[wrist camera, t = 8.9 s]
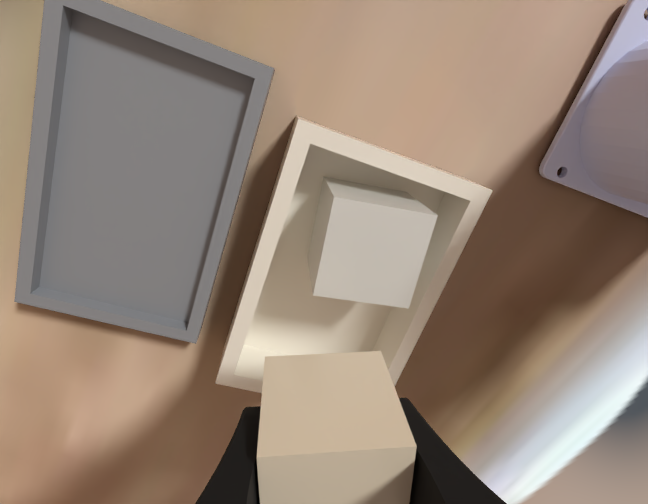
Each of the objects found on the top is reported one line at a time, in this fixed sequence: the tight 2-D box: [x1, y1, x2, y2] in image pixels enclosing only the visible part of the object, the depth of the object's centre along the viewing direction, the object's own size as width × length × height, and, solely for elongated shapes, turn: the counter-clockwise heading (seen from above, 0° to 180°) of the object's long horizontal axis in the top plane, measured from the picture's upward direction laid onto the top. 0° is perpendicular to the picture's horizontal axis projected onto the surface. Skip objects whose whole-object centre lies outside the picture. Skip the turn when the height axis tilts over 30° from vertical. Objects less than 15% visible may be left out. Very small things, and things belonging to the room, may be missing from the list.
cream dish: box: [215, 116, 493, 393], centre depth 18 cm, size 8×12×3 cm
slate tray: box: [15, 0, 275, 343], centre depth 17 cm, size 8×13×1 cm, turn 161°
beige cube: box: [257, 351, 417, 504], centre depth 12 cm, size 4×4×4 cm
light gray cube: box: [307, 177, 438, 309], centre depth 17 cm, size 4×4×4 cm
